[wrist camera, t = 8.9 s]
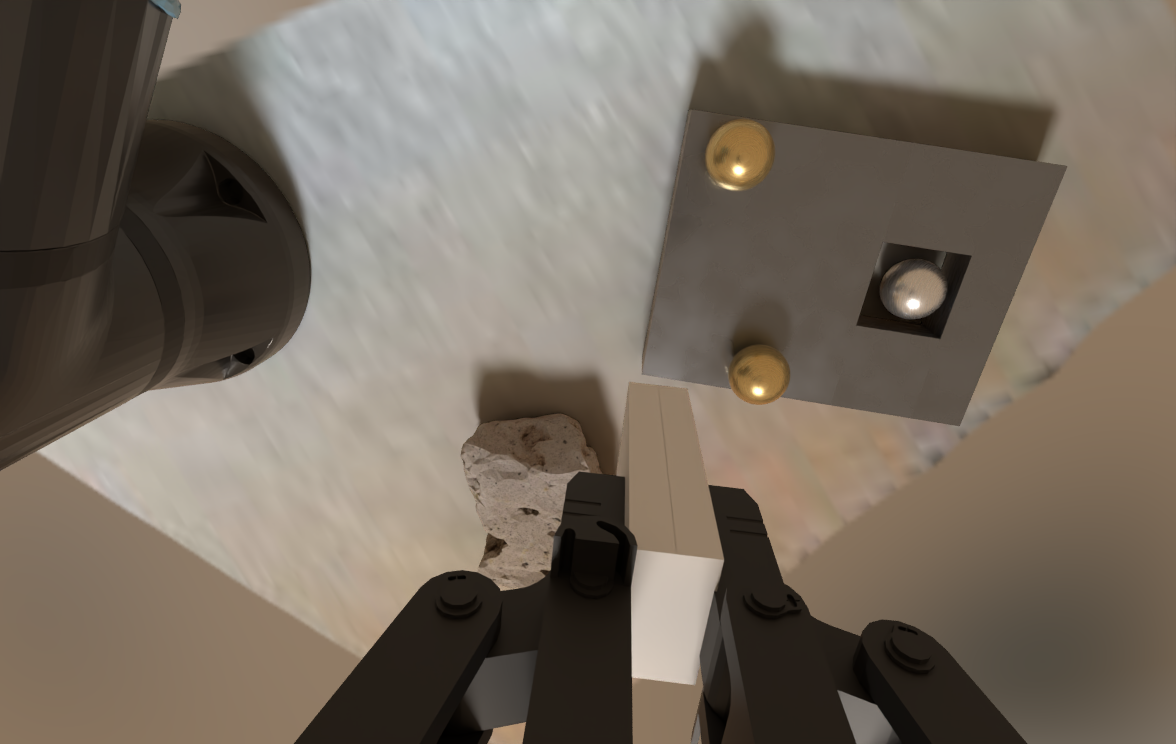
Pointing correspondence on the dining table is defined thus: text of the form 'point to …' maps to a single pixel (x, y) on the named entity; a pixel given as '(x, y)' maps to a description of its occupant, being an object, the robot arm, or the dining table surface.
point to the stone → (523, 490)
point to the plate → (843, 266)
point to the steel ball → (913, 288)
